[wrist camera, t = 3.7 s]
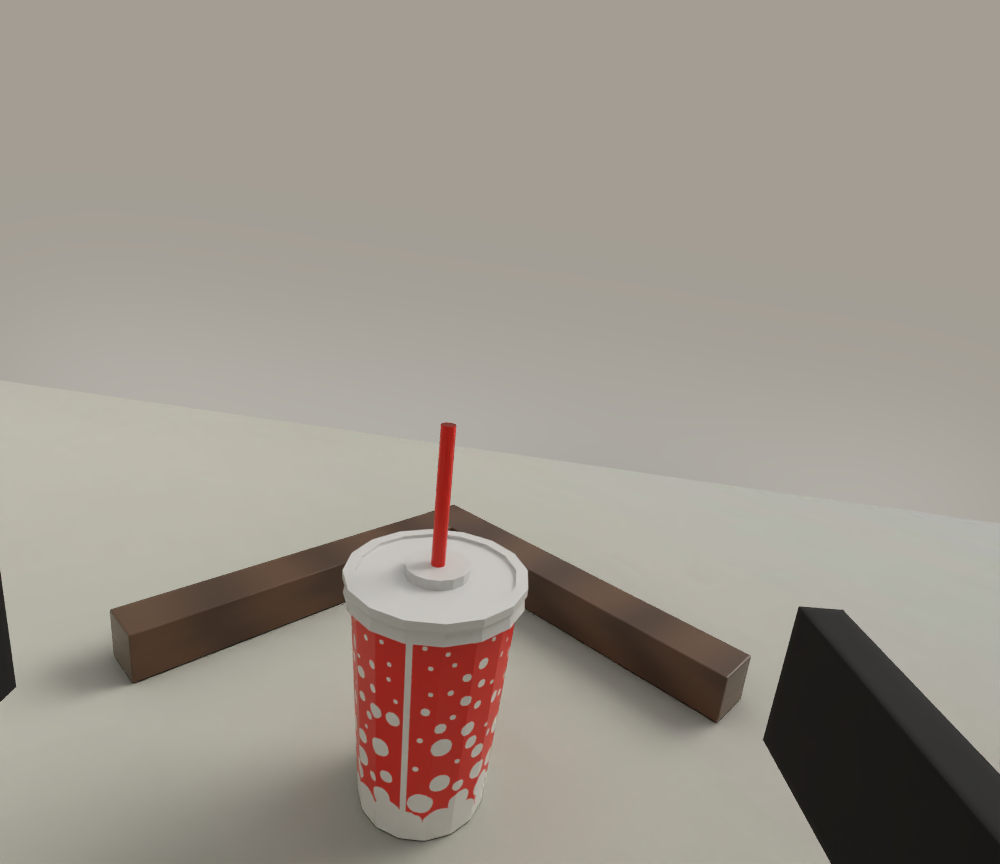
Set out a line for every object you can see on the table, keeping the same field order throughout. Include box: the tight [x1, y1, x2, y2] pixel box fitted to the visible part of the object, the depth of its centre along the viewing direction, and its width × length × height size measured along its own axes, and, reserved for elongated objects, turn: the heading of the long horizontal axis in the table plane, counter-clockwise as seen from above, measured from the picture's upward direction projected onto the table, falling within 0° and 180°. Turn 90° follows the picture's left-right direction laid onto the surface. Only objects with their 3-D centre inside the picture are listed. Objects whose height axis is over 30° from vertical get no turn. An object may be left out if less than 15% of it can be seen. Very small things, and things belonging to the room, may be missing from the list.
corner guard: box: [110, 505, 751, 722], centre depth 35 cm, size 16×29×2 cm, turn 91°
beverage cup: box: [342, 423, 528, 841], centre depth 22 cm, size 6×6×14 cm
